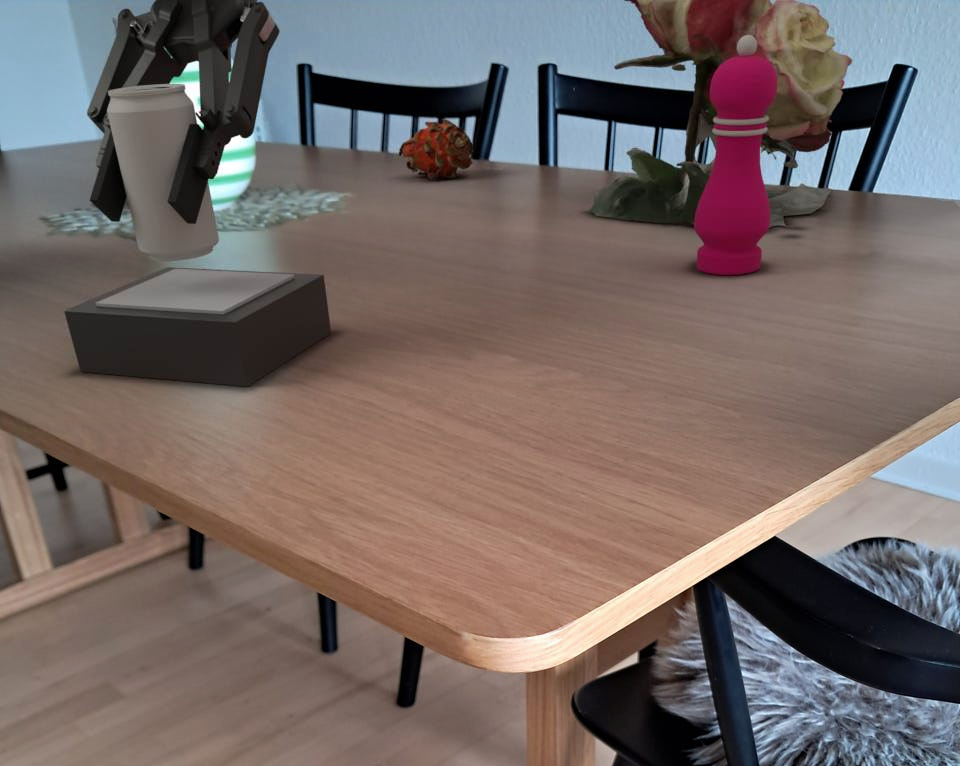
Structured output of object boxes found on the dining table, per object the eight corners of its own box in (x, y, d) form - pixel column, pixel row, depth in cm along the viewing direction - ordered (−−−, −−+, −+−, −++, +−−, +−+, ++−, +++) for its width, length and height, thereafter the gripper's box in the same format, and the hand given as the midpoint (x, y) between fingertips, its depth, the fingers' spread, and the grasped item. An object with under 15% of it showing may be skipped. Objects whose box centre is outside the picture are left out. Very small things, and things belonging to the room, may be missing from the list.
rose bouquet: (797, 238, 109) (838, -104, 93) (571, 216, 125) (571, -81, 108) (879, 196, 126) (927, -101, 110) (671, 181, 141) (684, -81, 125)
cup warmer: (68, 370, 83) (50, 305, 80) (168, 322, 94) (155, 263, 91) (247, 386, 78) (235, 317, 75) (331, 333, 89) (323, 270, 86)
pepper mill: (727, 280, 97) (748, 38, 86) (676, 267, 102) (689, 37, 91) (780, 267, 100) (807, 32, 89) (728, 255, 105) (747, 31, 94)
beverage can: (236, 250, 82) (206, 82, 75) (165, 267, 78) (127, 92, 71) (195, 241, 86) (163, 80, 79) (126, 256, 82) (86, 89, 75)
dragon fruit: (479, 190, 151) (407, 201, 156) (488, 146, 154) (417, 159, 159) (458, 145, 144) (384, 158, 149) (468, 100, 147) (395, 115, 151)
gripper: (346, -16, 81) (276, 244, 77) (146, -5, 87) (72, 237, 84) (304, -100, 74) (225, 182, 70) (89, -81, 80) (7, 179, 76)
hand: (142, 211), depth 77 cm, fingers closed on beverage can, 6 cm apart
